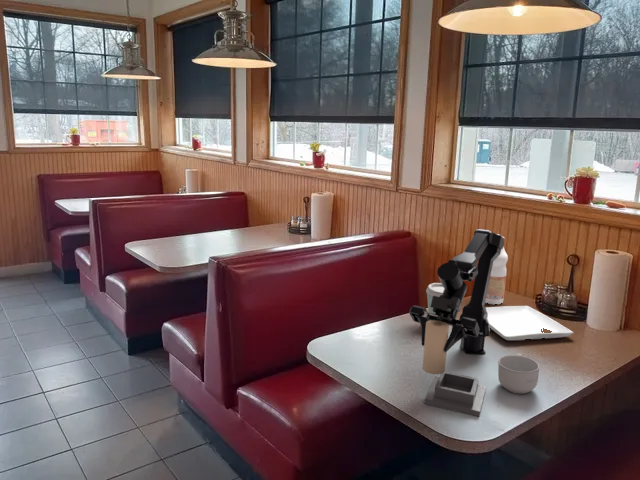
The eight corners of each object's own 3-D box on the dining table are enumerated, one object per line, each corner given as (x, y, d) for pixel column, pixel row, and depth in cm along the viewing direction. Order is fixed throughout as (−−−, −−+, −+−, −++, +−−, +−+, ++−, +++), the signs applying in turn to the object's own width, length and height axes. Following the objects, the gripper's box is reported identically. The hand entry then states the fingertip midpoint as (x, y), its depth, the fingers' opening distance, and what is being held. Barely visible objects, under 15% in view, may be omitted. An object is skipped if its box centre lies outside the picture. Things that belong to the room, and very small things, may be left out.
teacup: (532, 402, 141) (535, 375, 139) (491, 390, 146) (494, 364, 145) (541, 381, 152) (544, 356, 151) (503, 371, 158) (506, 347, 156)
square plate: (505, 346, 177) (506, 335, 176) (464, 317, 203) (465, 307, 202) (573, 341, 183) (575, 330, 182) (526, 313, 209) (527, 304, 208)
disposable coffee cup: (458, 325, 193) (462, 286, 189) (444, 333, 185) (447, 293, 182) (432, 318, 200) (436, 280, 196) (418, 325, 192) (421, 286, 188)
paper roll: (436, 362, 147) (440, 318, 144) (449, 372, 141) (453, 327, 138) (418, 365, 145) (421, 321, 142) (430, 375, 139) (433, 329, 136)
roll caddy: (434, 380, 151) (436, 366, 150) (485, 391, 145) (487, 377, 144) (424, 403, 138) (425, 388, 137) (479, 416, 133) (481, 400, 132)
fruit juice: (495, 306, 215) (502, 240, 208) (475, 300, 222) (481, 235, 215) (507, 302, 220) (515, 237, 214) (488, 296, 227) (494, 233, 221)
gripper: (414, 277, 146) (393, 326, 140) (480, 291, 136) (462, 344, 129) (423, 297, 154) (404, 344, 148) (486, 311, 144) (469, 362, 138)
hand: (433, 348), depth 140 cm, fingers closed on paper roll, 6 cm apart
